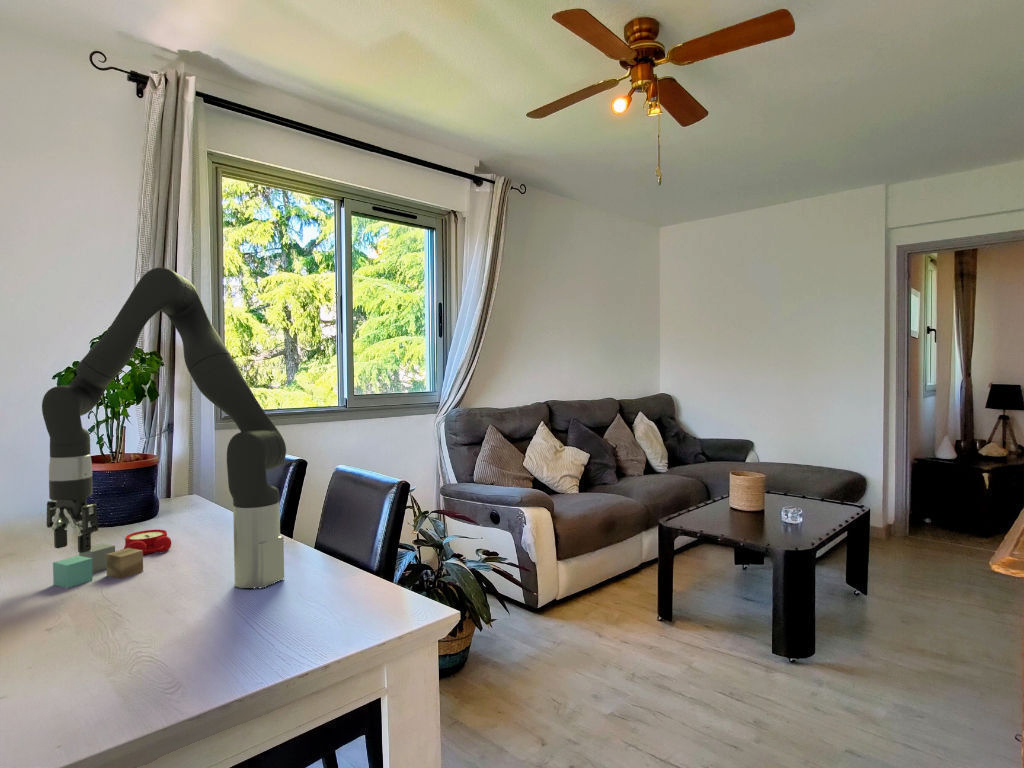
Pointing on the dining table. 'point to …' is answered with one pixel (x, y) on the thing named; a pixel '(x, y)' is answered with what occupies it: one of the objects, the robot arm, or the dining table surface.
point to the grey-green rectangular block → (99, 556)
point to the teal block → (72, 571)
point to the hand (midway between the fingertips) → (72, 549)
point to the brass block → (124, 563)
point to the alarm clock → (148, 541)
